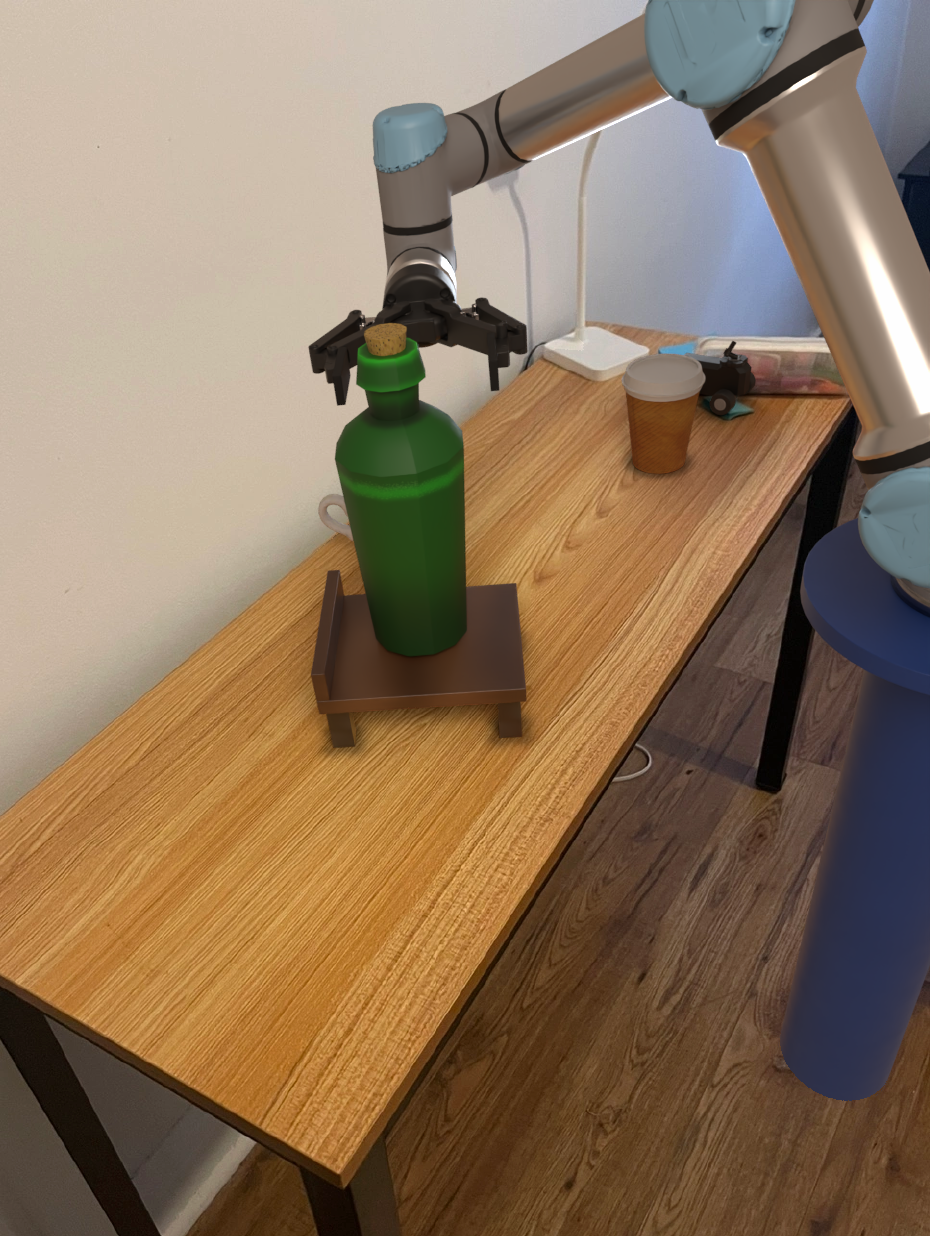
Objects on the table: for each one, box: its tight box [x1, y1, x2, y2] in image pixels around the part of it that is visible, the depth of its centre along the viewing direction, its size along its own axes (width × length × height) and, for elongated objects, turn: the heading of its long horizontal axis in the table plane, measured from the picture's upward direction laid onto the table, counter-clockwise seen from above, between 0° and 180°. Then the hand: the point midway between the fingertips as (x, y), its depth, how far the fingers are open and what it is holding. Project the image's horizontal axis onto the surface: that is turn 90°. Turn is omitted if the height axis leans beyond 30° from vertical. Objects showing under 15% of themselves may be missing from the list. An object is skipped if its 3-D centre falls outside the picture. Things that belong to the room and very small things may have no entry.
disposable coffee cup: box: [621, 353, 705, 475], centre depth 122 cm, size 10×10×12 cm
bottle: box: [334, 323, 467, 656], centre depth 85 cm, size 11×11×28 cm
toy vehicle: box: [683, 340, 757, 416], centre depth 135 cm, size 8×15×9 cm, turn 53°
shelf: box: [310, 569, 528, 749], centre depth 94 cm, size 18×16×9 cm
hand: (416, 383), depth 89 cm, fingers open, 13 cm apart
